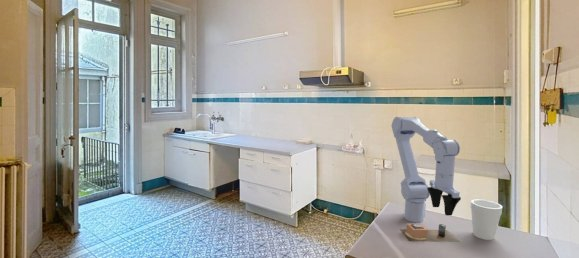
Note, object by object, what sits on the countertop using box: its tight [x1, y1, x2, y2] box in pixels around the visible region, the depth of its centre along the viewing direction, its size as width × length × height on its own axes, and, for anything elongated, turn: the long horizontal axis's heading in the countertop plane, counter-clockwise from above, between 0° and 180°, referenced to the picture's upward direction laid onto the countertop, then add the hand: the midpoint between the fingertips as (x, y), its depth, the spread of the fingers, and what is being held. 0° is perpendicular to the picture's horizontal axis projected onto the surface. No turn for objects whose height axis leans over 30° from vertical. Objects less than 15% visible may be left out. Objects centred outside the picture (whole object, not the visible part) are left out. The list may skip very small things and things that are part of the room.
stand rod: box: [437, 223, 447, 237], centre depth 104 cm, size 2×2×4 cm
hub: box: [404, 223, 428, 240], centre depth 104 cm, size 8×8×4 cm
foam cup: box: [470, 198, 503, 241], centre depth 104 cm, size 10×9×13 cm
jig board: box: [399, 228, 461, 243], centre depth 105 cm, size 18×9×1 cm, turn 90°
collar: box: [405, 222, 429, 238], centre depth 104 cm, size 5×5×3 cm
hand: (441, 210), depth 103 cm, fingers open, 7 cm apart
